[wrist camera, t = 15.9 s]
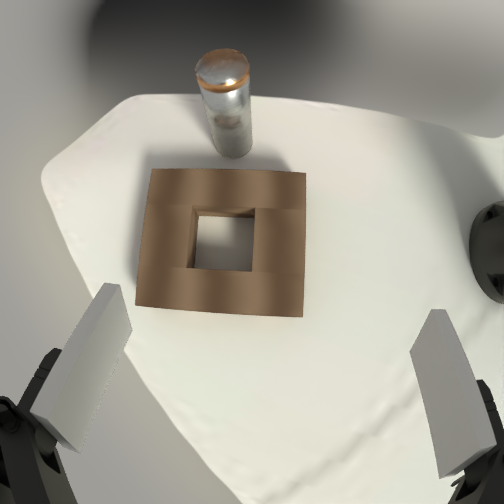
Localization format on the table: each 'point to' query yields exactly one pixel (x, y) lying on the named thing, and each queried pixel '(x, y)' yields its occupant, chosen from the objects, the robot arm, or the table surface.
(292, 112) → the table surface
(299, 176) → the pocket block
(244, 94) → the steel peg
